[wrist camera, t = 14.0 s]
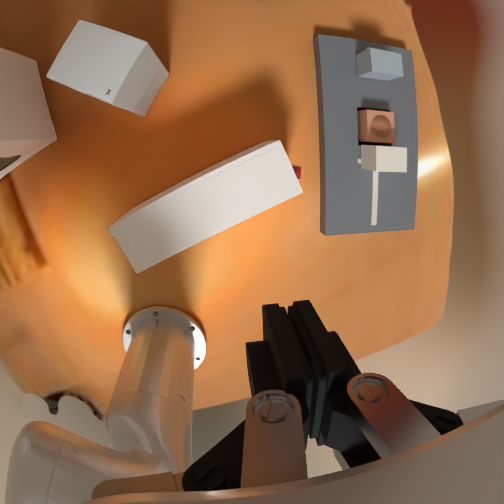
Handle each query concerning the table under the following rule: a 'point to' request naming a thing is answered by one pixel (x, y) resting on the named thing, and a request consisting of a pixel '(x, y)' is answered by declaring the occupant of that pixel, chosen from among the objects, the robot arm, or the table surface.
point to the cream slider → (384, 158)
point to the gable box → (22, 111)
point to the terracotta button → (376, 126)
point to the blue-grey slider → (379, 64)
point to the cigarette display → (206, 204)
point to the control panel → (349, 152)
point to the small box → (110, 67)
